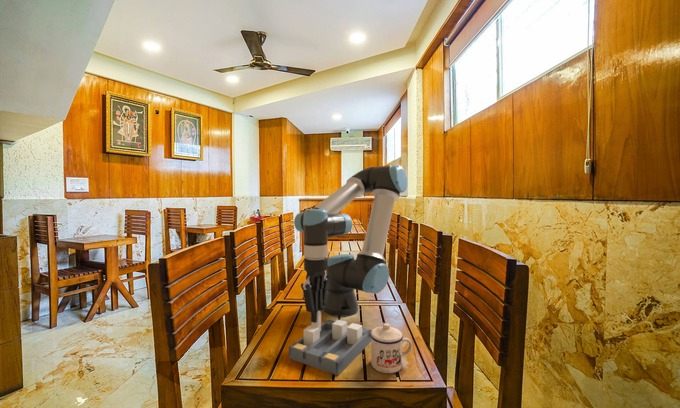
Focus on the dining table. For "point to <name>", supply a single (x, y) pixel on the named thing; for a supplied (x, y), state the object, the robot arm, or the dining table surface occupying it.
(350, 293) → the robot arm
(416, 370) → the dining table surface
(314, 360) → the switch bank
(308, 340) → the tab
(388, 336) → the teacup with lid
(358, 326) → the tab
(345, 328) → the tab
